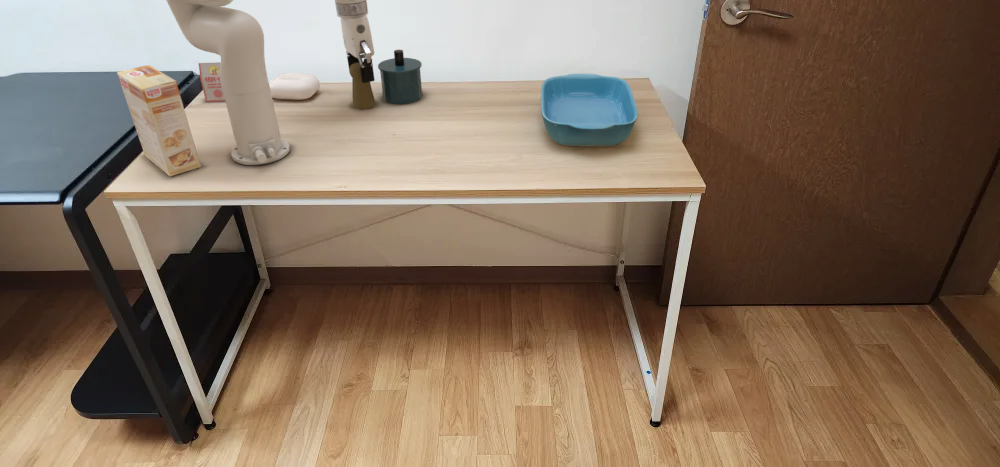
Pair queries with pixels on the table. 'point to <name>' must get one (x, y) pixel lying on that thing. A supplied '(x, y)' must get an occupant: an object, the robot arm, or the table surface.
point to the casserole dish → (588, 109)
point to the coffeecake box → (159, 119)
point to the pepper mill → (360, 89)
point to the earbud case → (294, 86)
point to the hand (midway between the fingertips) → (361, 75)
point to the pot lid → (399, 64)
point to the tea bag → (211, 81)
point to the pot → (401, 87)
